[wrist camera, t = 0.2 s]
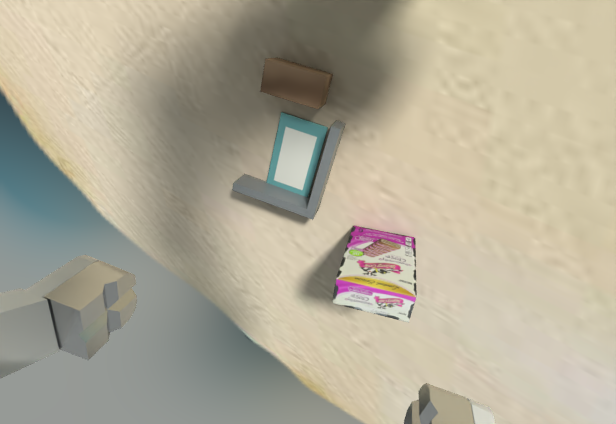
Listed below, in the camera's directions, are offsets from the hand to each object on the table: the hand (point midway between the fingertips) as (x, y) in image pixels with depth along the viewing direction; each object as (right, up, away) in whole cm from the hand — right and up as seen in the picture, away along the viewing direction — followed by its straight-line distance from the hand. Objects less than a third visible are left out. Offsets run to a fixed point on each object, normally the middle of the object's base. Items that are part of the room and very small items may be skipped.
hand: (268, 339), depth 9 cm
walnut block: (0, +24, +43) cm, 49 cm away
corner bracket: (-2, +13, +48) cm, 50 cm away
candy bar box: (+14, -2, +51) cm, 53 cm away
